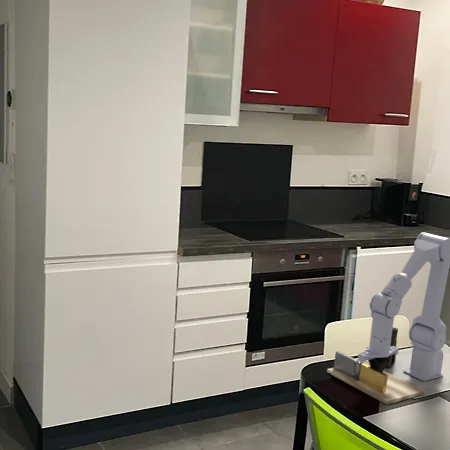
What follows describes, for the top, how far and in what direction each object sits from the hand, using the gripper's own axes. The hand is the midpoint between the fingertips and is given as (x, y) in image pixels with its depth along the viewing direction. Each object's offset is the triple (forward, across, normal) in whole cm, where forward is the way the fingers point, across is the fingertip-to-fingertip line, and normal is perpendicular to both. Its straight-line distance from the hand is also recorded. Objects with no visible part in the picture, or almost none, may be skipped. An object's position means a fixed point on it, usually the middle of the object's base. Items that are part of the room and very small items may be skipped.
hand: (375, 381), depth 185 cm
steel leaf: (+1, +2, -9) cm, 9 cm away
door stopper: (+3, -18, -13) cm, 23 cm away
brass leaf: (+1, +2, +1) cm, 2 cm away
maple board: (+2, -3, -3) cm, 5 cm away
